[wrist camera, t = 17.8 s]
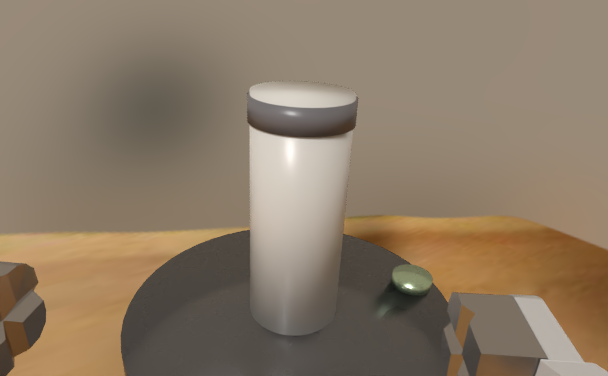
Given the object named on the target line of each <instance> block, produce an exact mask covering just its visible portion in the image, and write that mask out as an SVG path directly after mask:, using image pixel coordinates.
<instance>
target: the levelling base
mask: <svg viewBox="0 0 608 376" xmlns="http://www.w3.org/2000/svg"><path fill="white" fill-rule="evenodd" d="M432 281H433V278H432V275H431V274H430V273H429V272H428V271H427V270H425V269H423V268H421V267H419V266H415V265H411V264H410V263H409V262H407V261H406V260H404V259H402V258H401V257H399V256H398V255H396V254H394V253H392V252H390V251H388V250H386V249H384V248H382V247H380V246H378V245H375V244H373V243H370V242H368V241H365V240H362V239H359V238H356V237H352V236H349V235H345V234H343V240H342V250H341V261H340V271H339V282H338V292H337V303H336V313H335V316H334V318H333V320H332V321H331V322H330V323H329V324H328V325H327V326H326V327H324V328H323V329H321V330H319V331H317V332H314V333H311V334H307V335H298V336H291V335H282V334H278V333H275V332H272V331H270V330H267V329H266V328H264V327H262V326H261V325H260V324H259V323H258V322H257V321H256V320H255V319H254V317H253V316H252V313H251V310H250V230H247V231H241V232H236V233H232V234H227V235H224V236H221V237H217V238H214V239H211V240H208V241H206V242H203V243H201V244H198V245H196V246H194V247H192V248H190V249H188V250H185V251H183V252H182V253H180V254H178V255H177V256H175V257H174V258H172V259H170V260H169V261H168V262H166V263H165V264H164V265H162V266H161V267H160V268H158V269H157V270H156V271H155V272H154V273H153V274H152V275H151V276H150V277H149V278H148V279H147V280H146V281H145V282H144V283H143V285H142V286H141V287H140V288H139V290H138V291H137V292H136V294H135V296H134V297H133V299H132V301H131V303H130V304H129V307H128V309H127V312H126V315H125V317H124V320H123V326H122V332H121V353H122V359H123V365H124V372H125V376H444V372H443V367H442V360H441V341H442V335H443V329H444V328H445V327H446V326H447V325H448V324H450V323H451V320H450V317H449V314H448V311H447V308H448V302H447V301H446V299H445V298H444V296H443V295H442V293H441V292H440V291H439V290H438V288H437V287H436V286H435V285H434V284H433V283H432Z"/></svg>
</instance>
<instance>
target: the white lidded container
mask: <svg viewBox="0 0 608 376" xmlns="http://www.w3.org/2000/svg"><path fill="white" fill-rule="evenodd" d="M357 106H358V97H357V96H356V93H355V92H354V91H353V90H351V89H349V88H346V87H342V86H338V85H333V84H326V83H319V82H308V81H275V82H266V83H261V84H257V85H254V86H252V87H250V91H249V92H248V93H247V116H248V117H247V119H248V120H247V121H248V123H249V124H250V310H251V313H252V316H253V317H254V319H255V320H256V321H257V322H258V323H259V324H260V325H261V326H262V327H264V328H266V329H267V330H270V331H272V332H275V333H278V334H282V335H291V336H298V335H307V334H311V333H314V332H317V331H319V330H321V329H323V328H324V327H326V326H327V325H328V324H329V323H330V322H331V321H332V320H333V318H334V316H335V313H336V303H337V292H338V282H339V271H340V261H341V250H342V240H343V229H344V219H345V208H346V198H347V187H348V177H349V166H350V155H351V146H352V135H353V129H354V128H355V126H356V116H357Z"/></svg>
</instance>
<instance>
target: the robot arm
mask: <svg viewBox="0 0 608 376" xmlns="http://www.w3.org/2000/svg"><path fill="white" fill-rule="evenodd" d="M37 284H38V280H37V277H36V274H35V271H34V268H33V267H31V266H29V265H27V264H23V263H11V262H0V376H6V375H7V374H8V373H9V372H10V371H11V370H12V369H13V367H14V357H15V356H17V355H19V354H21V353H23V352H24V351H26V350H28V349H30V348H31V347H32V346H33V344H34V343H35V342H36V341H37V340H38V338H39V337H40V335H41V333H42V330H43V327H44V325H45V322H46V309H45V305H44V301H43V300H42V299H41V298H40V297H39V296H38V295H37V294H36V293H35V292H34V289H35V287H36V285H37ZM447 311H448V314H449V317H450V320H451V323H450V324H448V325H447V326H446V327H445V328H444V329H443V335H442V341H441V360H442V367H443V372H444V376H608V372H607V371H606V370H604V369H603V368H601V367H600V366H598V365H596V364H595V363H585V362H584V360H583V359H582V357H581V356H580V354H579V353H578V351H577V350H576V348H575V347H574V345H573V344H572V342H571V341H570V339H569V338H568V336H567V335H566V333H565V332H564V331H563V329H562V328H561V326H560V325H559V323H558V322H557V320H556V319H555V317H554V316H553V314H552V313H551V311H550V310H549V308H548V307H547V305H546V304H545V302H544V301H543V299H541V298H540V297H538V296H535V295H493V294H475V293H458V292H453V293H452V295H451V297H450V299H449V304H448V308H447Z"/></svg>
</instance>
